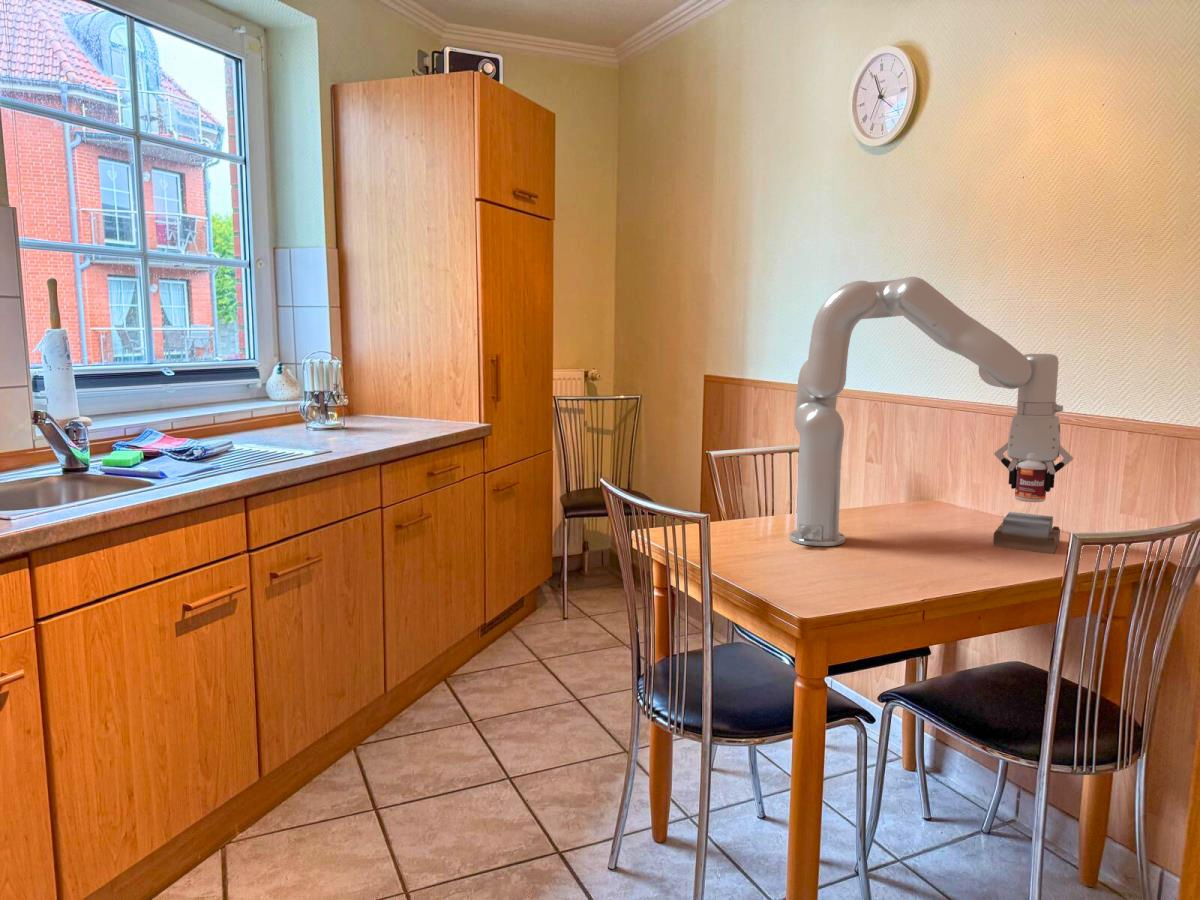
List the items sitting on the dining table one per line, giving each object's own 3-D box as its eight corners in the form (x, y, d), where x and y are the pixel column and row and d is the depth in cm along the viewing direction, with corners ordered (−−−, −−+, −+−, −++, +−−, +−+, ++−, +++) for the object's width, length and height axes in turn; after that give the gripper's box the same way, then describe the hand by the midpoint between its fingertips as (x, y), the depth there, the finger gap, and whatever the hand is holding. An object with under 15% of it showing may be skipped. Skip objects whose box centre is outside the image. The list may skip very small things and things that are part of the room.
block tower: (1053, 553, 177) (1055, 526, 176) (993, 545, 184) (994, 519, 183) (1059, 541, 187) (1061, 516, 186) (1001, 534, 194) (1003, 509, 193)
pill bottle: (1015, 501, 182) (1018, 453, 181) (1013, 496, 188) (1016, 449, 186) (1047, 503, 180) (1050, 454, 178) (1043, 498, 186) (1046, 450, 184)
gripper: (1082, 410, 179) (1076, 490, 182) (995, 406, 189) (991, 482, 191) (1079, 413, 173) (1073, 496, 176) (990, 409, 183) (985, 488, 185)
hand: (1030, 488), depth 184 cm, fingers closed on pill bottle, 6 cm apart
